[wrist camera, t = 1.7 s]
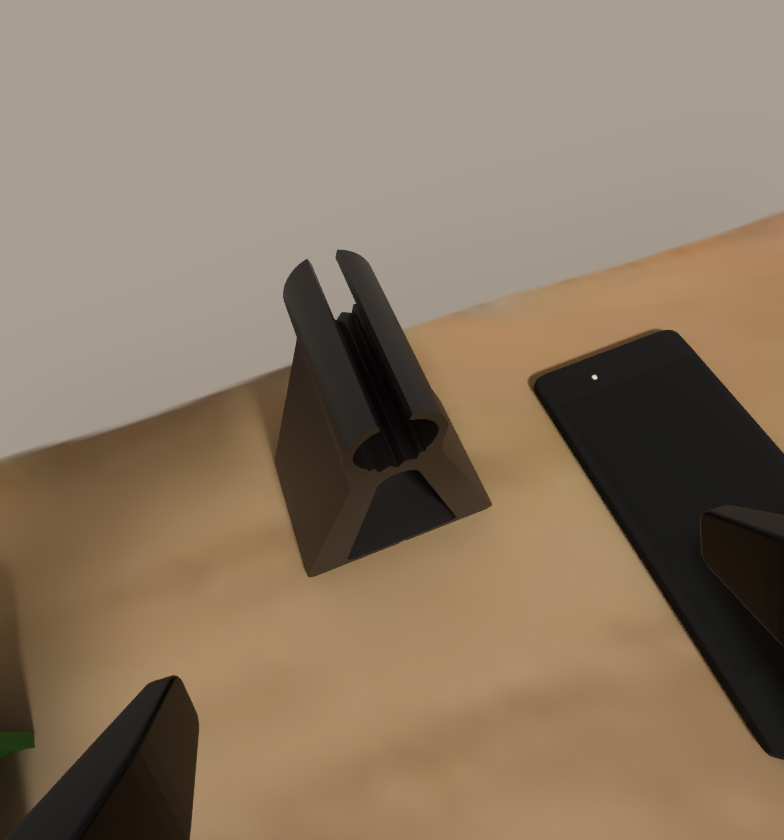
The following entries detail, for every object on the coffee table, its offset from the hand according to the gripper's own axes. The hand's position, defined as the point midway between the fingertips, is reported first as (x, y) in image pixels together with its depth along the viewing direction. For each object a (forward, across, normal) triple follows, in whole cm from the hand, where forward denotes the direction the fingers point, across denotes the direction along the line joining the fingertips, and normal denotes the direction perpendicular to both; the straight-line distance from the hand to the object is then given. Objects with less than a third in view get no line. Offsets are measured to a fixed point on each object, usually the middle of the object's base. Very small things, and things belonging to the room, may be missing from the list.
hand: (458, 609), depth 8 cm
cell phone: (+12, -14, +8) cm, 20 cm away
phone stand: (+15, 0, +4) cm, 16 cm away
